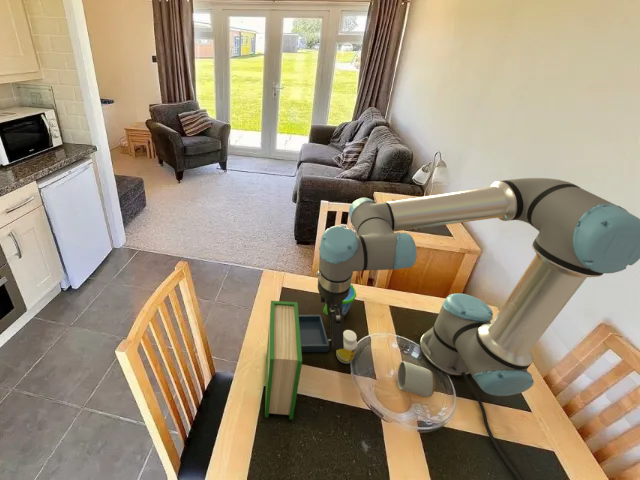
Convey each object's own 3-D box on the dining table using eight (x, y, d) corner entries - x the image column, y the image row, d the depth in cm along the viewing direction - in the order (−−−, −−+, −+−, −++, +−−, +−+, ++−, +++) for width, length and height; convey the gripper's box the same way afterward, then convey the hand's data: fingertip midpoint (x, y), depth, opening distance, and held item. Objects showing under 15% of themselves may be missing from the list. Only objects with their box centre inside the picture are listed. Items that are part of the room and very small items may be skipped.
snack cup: (333, 330, 109) (338, 309, 104) (311, 310, 116) (314, 290, 111) (361, 309, 117) (366, 289, 112) (339, 292, 124) (343, 272, 120)
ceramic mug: (430, 404, 88) (438, 387, 84) (399, 396, 90) (406, 378, 86) (422, 369, 97) (429, 352, 94) (394, 362, 99) (400, 346, 95)
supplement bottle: (350, 367, 97) (356, 346, 92) (333, 358, 99) (338, 337, 95) (355, 354, 101) (361, 333, 96) (339, 345, 103) (344, 325, 99)
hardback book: (292, 419, 83) (302, 361, 72) (264, 417, 83) (270, 359, 72) (290, 357, 99) (297, 302, 88) (266, 356, 99) (271, 300, 88)
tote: (328, 352, 101) (329, 345, 100) (290, 352, 101) (291, 346, 99) (319, 320, 112) (320, 314, 111) (285, 321, 111) (286, 315, 110)
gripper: (311, 240, 84) (310, 285, 98) (327, 333, 65) (322, 372, 79) (339, 238, 83) (334, 283, 97) (364, 331, 64) (353, 371, 78)
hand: (329, 323), depth 88 cm, fingers open, 13 cm apart
